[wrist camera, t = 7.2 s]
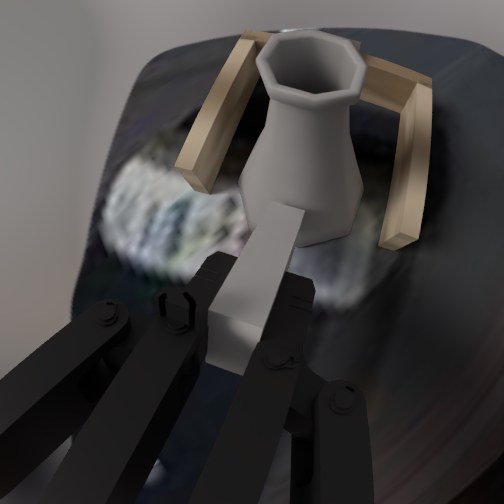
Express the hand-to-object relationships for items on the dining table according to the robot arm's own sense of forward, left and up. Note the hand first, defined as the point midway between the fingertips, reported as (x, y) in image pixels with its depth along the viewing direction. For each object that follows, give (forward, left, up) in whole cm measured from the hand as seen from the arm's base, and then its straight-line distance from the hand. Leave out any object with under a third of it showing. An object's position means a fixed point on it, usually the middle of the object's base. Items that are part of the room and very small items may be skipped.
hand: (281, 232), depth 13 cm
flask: (-3, -2, -3) cm, 5 cm away
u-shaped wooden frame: (-5, -3, -3) cm, 7 cm away
